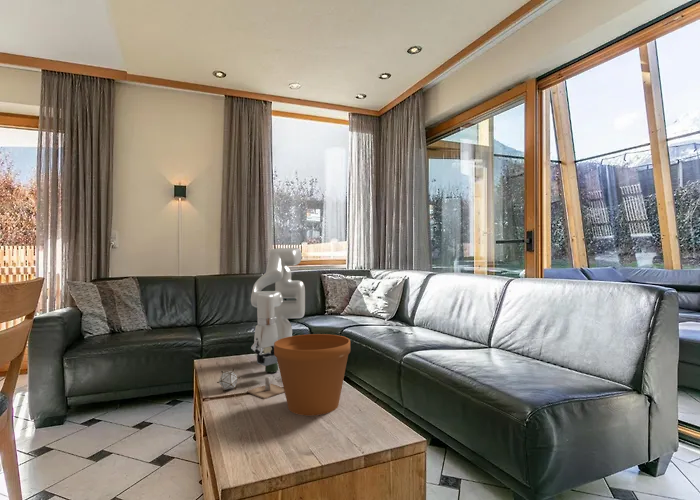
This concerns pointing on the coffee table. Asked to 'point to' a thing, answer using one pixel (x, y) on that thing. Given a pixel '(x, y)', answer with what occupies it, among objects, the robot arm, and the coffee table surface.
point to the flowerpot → (312, 371)
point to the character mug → (273, 366)
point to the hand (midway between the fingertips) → (267, 360)
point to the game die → (228, 380)
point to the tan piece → (267, 390)
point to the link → (268, 359)
